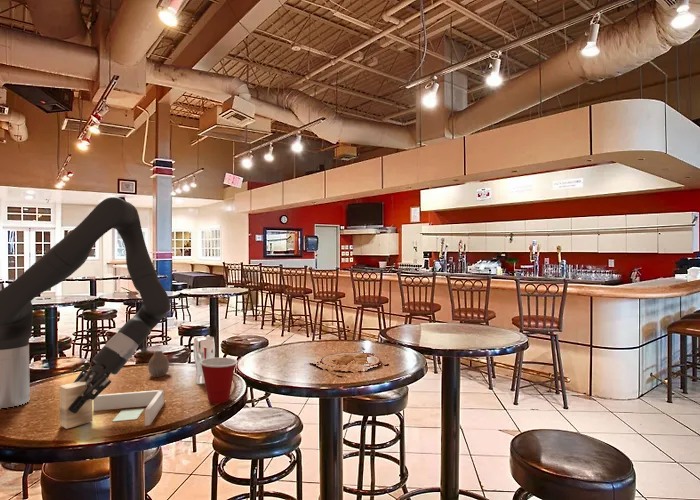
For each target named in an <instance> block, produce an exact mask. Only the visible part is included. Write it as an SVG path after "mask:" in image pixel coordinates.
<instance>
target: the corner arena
mask: <svg viewBox="0 0 700 500" xmlns="http://www.w3.org/2000/svg"><path fill="white" fill-rule="evenodd" d="M164 404H165V390H164V389H157V390H156V389H155V390H143V391H130V392H119V393H105V394H104V393H103V394H99V395H98V396H97V397H96V398H95V399H94V400H93V412H95V411H105V410H118V409H123V410H120V412H119V413H118V414H117V415H116V416H115V417H114V418H113V420H111V422H112V423H114V422H115V423H116V422H124V421H134V420H138V418H140V416H141V415H142V414H143V412H144V426H151V425H152V423H153V421H154V420H155V418H156V417H157V415H158V414H159V412H160V411H161V409H162V407H163V406H164ZM140 407H143V408H140ZM144 407H146V408H144ZM128 408H133V409H128ZM134 408H135V409H134Z"/></svg>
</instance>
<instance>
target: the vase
mask: <svg viewBox="0 0 700 500" xmlns="http://www.w3.org/2000/svg"><path fill="white" fill-rule="evenodd" d="M147 365H148V366H147V368H148V373H149V374H150V376H152V377H153V378H160V377H161V378H162V377H164V376H165V375H167V373H168V371H169V368H170V363H169V359H168V357H167V356H166V355H165V354H164V353H163V351H162V350H155V352H154V353H153V355H152V356H151V358H150V359H149V361H148V364H147Z"/></svg>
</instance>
